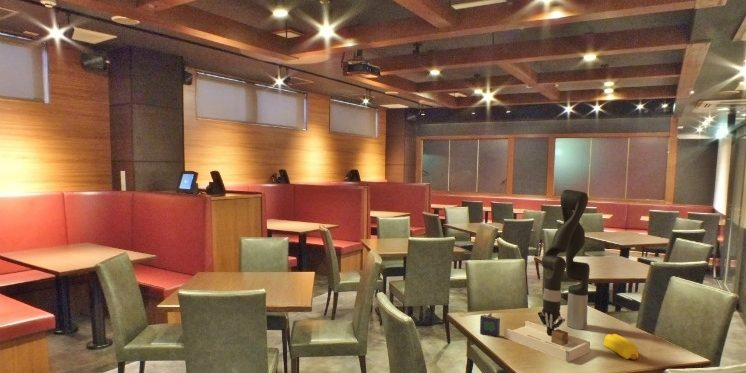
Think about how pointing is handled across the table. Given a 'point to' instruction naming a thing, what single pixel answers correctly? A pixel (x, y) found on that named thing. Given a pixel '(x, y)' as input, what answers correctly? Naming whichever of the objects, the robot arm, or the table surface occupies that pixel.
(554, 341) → the walnut block
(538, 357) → the table surface
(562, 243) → the robot arm
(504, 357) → the table surface
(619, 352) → the yellow banana
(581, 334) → the table surface
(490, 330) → the flask
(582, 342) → the track
